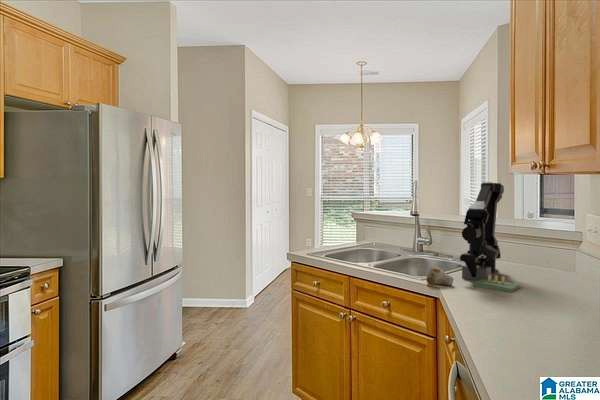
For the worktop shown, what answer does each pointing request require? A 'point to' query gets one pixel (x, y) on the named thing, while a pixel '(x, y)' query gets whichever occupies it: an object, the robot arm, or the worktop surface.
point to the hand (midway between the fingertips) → (476, 276)
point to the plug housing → (481, 272)
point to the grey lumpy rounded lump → (438, 277)
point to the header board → (496, 284)
